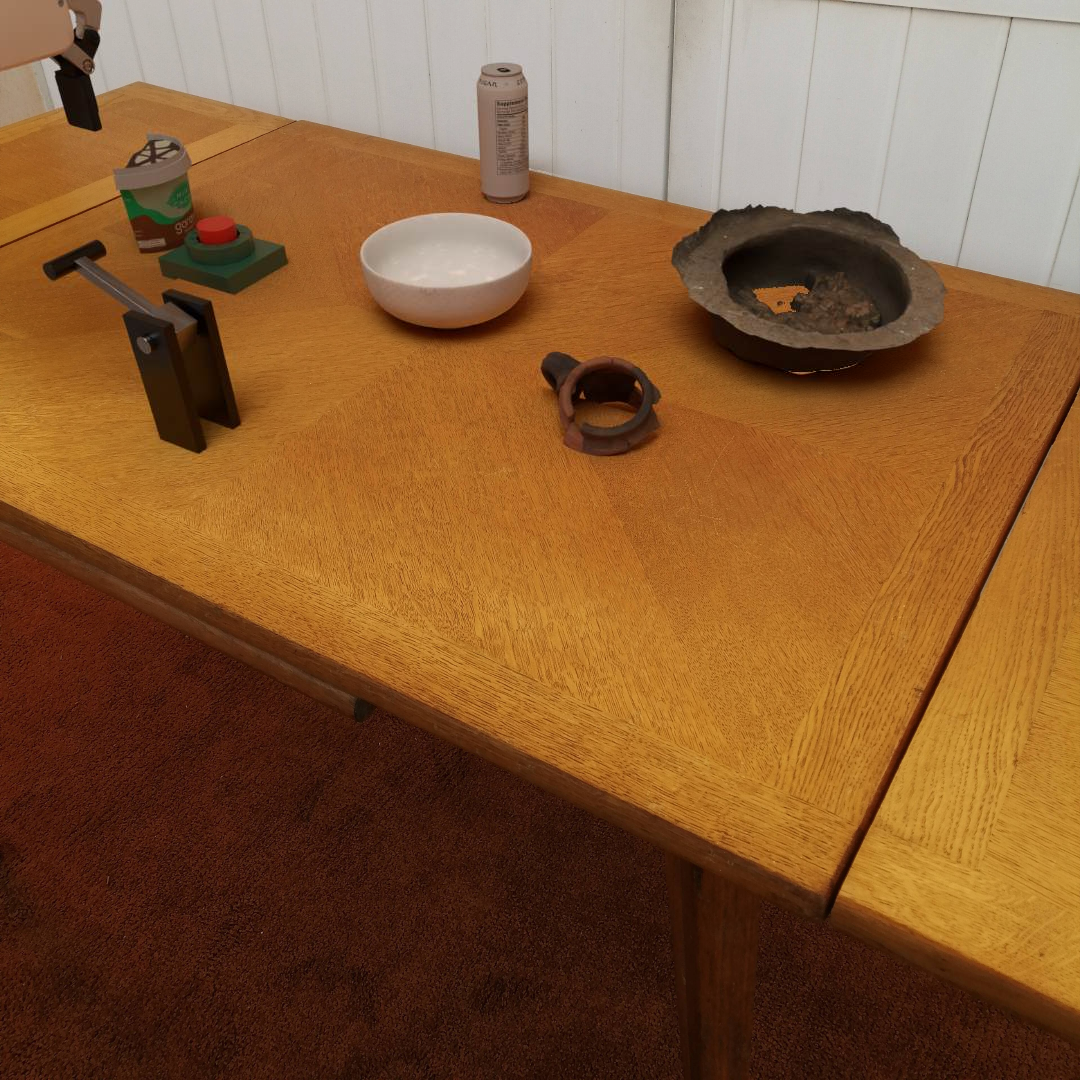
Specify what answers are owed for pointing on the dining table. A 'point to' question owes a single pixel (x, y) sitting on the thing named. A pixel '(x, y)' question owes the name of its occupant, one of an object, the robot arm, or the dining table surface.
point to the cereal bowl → (447, 268)
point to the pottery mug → (601, 400)
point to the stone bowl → (808, 285)
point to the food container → (158, 194)
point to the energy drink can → (503, 132)
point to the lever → (120, 289)
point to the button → (216, 230)
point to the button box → (224, 261)
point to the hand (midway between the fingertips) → (33, 146)
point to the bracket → (183, 372)
